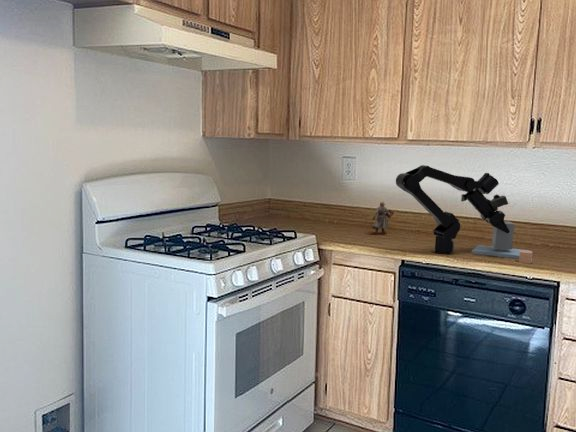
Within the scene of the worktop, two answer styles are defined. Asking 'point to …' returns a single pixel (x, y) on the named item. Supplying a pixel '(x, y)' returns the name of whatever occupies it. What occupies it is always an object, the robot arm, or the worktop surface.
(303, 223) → the worktop surface
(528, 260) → the exposed block
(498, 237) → the tall gray block
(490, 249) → the board
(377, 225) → the figurine
